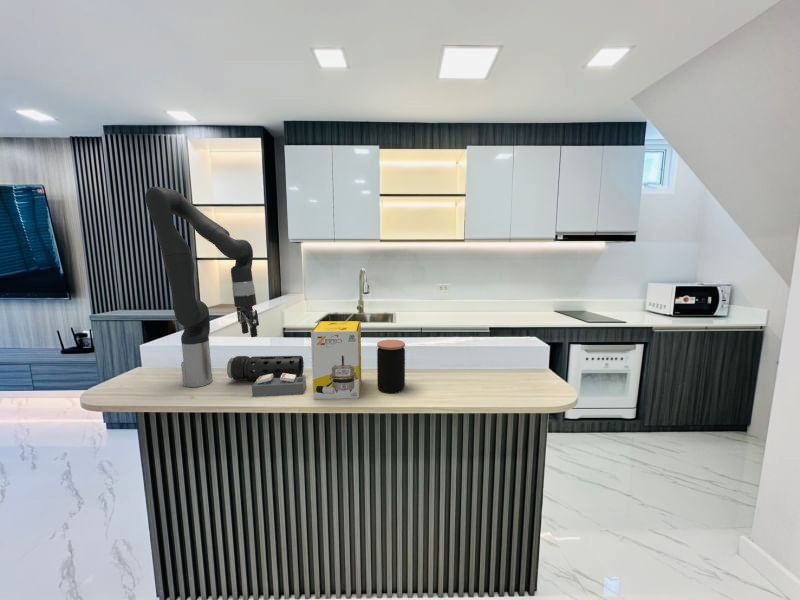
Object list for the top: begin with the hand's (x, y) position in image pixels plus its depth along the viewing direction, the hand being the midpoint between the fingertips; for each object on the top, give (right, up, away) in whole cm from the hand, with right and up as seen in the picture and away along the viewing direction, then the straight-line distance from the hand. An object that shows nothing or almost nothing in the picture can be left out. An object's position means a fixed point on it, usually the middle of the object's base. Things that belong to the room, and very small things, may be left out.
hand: (249, 335), depth 127 cm
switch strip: (+12, -21, -2) cm, 25 cm away
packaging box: (+34, -21, 0) cm, 40 cm away
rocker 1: (+7, -17, -3) cm, 19 cm away
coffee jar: (+54, -21, +1) cm, 58 cm away
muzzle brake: (+3, -20, +9) cm, 22 cm away
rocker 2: (+15, -17, -2) cm, 23 cm away
